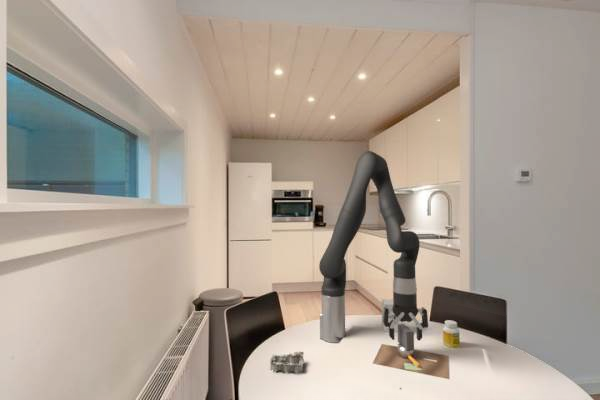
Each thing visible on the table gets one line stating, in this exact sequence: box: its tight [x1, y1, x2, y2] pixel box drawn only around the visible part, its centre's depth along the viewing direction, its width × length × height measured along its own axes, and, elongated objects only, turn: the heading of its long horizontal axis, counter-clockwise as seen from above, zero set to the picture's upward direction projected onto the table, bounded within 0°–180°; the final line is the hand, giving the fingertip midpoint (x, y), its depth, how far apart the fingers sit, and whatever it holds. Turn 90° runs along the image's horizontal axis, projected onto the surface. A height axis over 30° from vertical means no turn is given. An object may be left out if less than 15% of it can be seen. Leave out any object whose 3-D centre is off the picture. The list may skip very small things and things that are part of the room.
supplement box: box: [381, 298, 403, 333], centre depth 127 cm, size 7×7×13 cm
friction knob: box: [397, 323, 420, 367], centre depth 100 cm, size 12×5×9 cm, turn 7°
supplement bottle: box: [442, 319, 461, 349], centre depth 111 cm, size 5×5×10 cm
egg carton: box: [269, 351, 305, 374], centre depth 98 cm, size 11×8×4 cm
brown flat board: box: [372, 343, 450, 380], centre depth 100 cm, size 22×16×2 cm
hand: (405, 339), depth 103 cm, fingers open, 8 cm apart
